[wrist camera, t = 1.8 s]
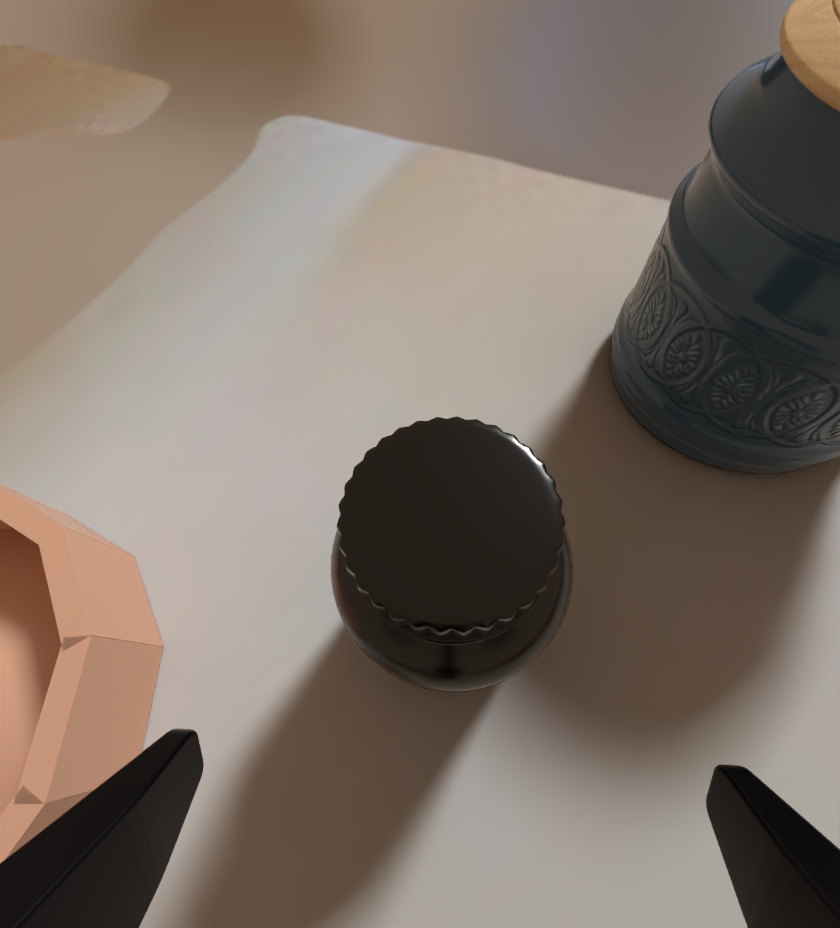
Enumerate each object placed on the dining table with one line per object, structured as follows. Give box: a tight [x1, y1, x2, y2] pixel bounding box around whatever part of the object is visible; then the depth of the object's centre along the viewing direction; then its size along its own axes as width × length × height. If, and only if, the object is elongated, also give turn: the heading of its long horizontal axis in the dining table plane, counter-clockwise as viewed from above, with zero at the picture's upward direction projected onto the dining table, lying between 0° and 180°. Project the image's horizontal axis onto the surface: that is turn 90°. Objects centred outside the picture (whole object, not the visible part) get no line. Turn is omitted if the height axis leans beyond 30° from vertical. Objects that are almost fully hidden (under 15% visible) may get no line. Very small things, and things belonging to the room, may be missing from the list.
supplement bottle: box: [331, 417, 573, 692], centre depth 15 cm, size 7×7×12 cm
